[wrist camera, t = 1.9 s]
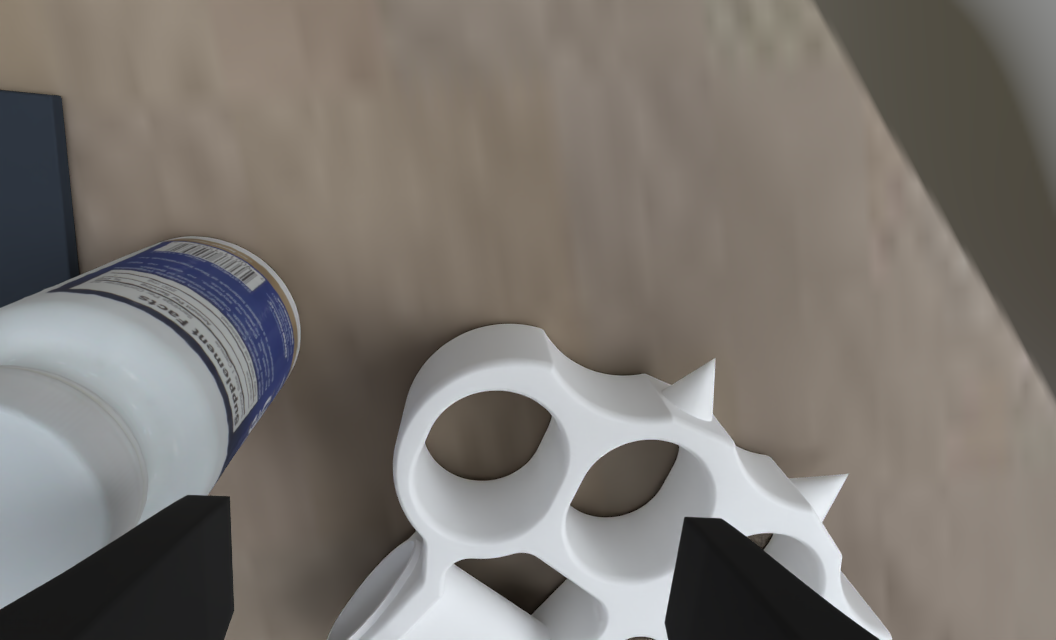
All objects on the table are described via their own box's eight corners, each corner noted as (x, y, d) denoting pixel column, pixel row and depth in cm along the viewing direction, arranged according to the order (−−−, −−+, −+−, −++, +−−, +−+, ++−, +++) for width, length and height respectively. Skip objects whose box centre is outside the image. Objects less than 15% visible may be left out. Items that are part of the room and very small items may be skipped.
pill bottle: (174, 433, 21) (-75, 701, 11) (76, 274, 19) (-309, 434, 10) (337, 371, 20) (219, 591, 11) (251, 203, 19) (29, 299, 9)
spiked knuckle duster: (256, 555, 22) (552, 212, 19) (648, 796, 26) (932, 544, 24) (218, 631, 19) (568, 233, 16) (671, 890, 23) (1003, 611, 21)
